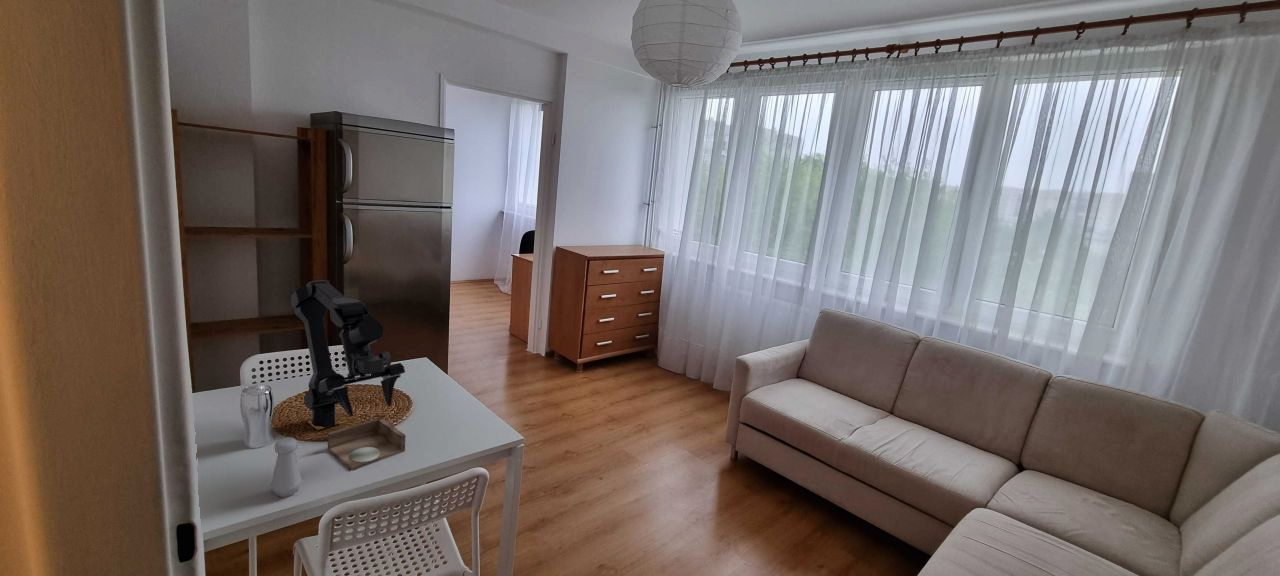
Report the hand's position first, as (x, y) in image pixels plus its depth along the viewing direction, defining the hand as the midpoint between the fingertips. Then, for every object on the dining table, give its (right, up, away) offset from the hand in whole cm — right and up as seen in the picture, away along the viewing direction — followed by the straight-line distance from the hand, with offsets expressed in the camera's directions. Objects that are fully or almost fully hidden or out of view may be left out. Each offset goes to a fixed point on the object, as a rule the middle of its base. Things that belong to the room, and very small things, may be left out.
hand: (370, 411), depth 130 cm
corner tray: (-6, -13, +10) cm, 18 cm away
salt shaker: (-14, -16, -10) cm, 24 cm away
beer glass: (-33, -10, +7) cm, 36 cm away
